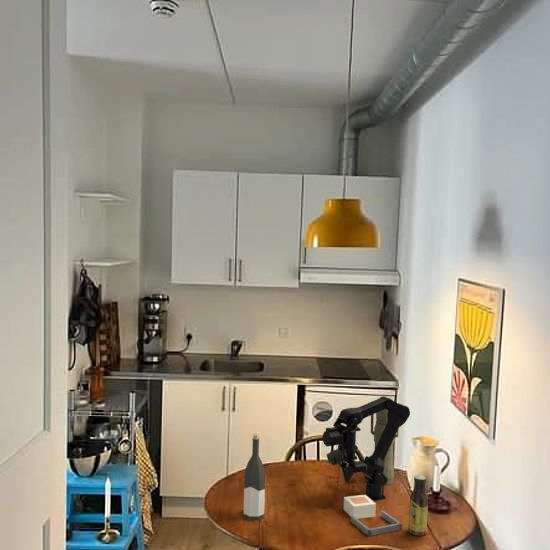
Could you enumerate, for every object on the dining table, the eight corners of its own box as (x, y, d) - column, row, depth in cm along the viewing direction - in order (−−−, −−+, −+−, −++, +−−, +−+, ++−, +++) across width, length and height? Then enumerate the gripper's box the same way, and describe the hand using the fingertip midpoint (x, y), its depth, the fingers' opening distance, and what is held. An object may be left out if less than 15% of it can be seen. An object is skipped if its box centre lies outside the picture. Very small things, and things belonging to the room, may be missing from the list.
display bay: (383, 515, 214) (383, 510, 214) (402, 529, 204) (402, 523, 204) (350, 521, 209) (350, 516, 208) (368, 536, 198) (368, 530, 198)
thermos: (369, 476, 253) (371, 397, 252) (396, 479, 250) (399, 399, 249) (367, 484, 244) (370, 401, 243) (396, 487, 242) (399, 404, 241)
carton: (365, 507, 222) (365, 494, 221) (375, 517, 214) (375, 503, 213) (343, 510, 219) (344, 496, 219) (353, 519, 211) (353, 506, 211)
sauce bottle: (405, 528, 205) (407, 472, 204) (422, 528, 205) (425, 472, 205) (411, 537, 198) (413, 480, 198) (429, 537, 199) (431, 480, 198)
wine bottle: (267, 513, 214) (270, 433, 213) (260, 522, 206) (262, 439, 205) (247, 509, 216) (249, 430, 215) (239, 518, 209) (241, 436, 208)
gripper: (318, 437, 229) (317, 476, 230) (342, 452, 212) (341, 494, 213) (342, 434, 234) (341, 472, 234) (368, 449, 217) (367, 490, 217)
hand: (347, 482), depth 225 cm, fingers closed
